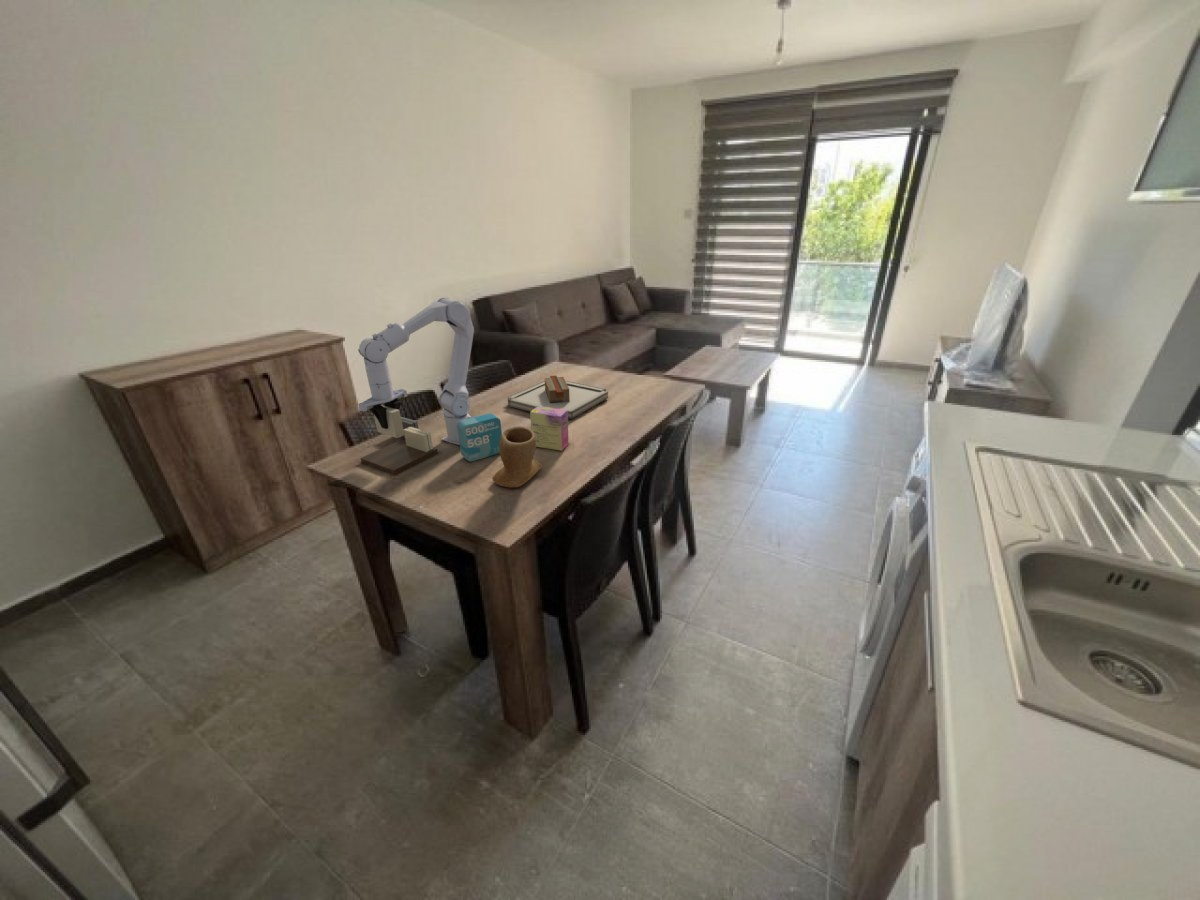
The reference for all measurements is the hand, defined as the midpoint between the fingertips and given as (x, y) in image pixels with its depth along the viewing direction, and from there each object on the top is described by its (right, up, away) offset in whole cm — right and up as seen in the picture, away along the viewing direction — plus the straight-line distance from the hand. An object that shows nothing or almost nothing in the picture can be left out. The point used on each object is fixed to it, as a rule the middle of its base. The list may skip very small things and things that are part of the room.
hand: (389, 426), depth 141 cm
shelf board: (+1, -9, +5) cm, 10 cm away
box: (+46, -6, +12) cm, 48 cm away
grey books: (-2, -3, +18) cm, 18 cm away
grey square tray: (+46, +12, +46) cm, 66 cm away
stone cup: (+40, -15, -6) cm, 43 cm away
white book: (0, -2, +1) cm, 2 cm away
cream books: (+6, -6, +8) cm, 12 cm away
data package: (+26, -9, +6) cm, 28 cm away
